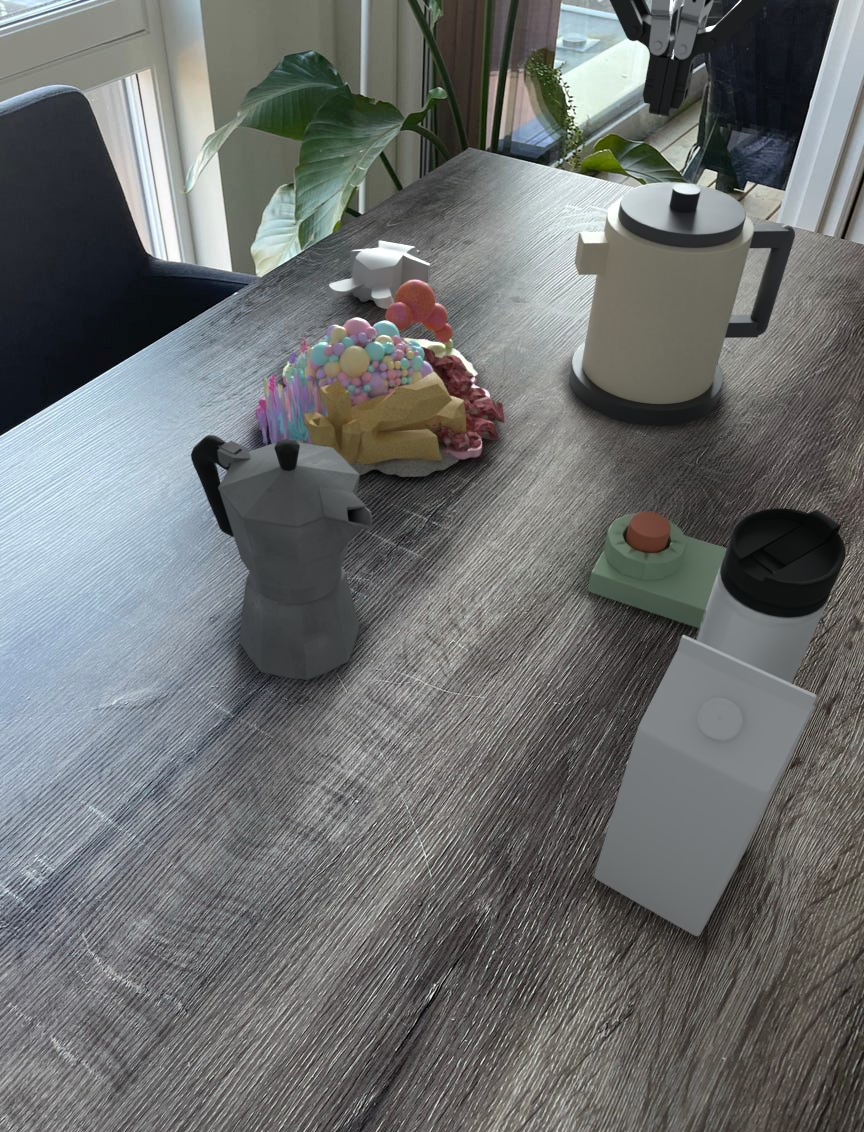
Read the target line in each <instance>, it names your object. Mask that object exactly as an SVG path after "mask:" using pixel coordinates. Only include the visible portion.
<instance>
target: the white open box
mask: <svg viewBox="0 0 864 1132" xmlns="http://www.w3.org/2000/svg"><path fill="white" fill-rule="evenodd" d="M419 257H420V250H419V249H418V248H417V247H416V246H413V245H406V244H401V243H395V242H392V241H391V242H390V241H385V240H378V246H377V247H374V248H363V249H362V248H361V249H352V250H350V252H349V271H351V276H350V278H345V279H341V280H338V281H333V282H331V283H329V284H328V286H327V288H326V290H325V293H324V297H325V298H329V299H339V298H342V297H344V296H346V295H348V294H350V293H352V295H353V297H354V298H358V300H359V301H361V302H365V303H366V302H368V301H373V302H374V303H375V305H376V307H379V308H380V309H385V310H387V309H388V308H389V307H390V305H392V304H394V303H395V296H396V293H397V291H398V289H399V288H400V286H401V285H403V284H404V283H406V282H408V281H410V280H420V281H422V282H425V283H427V284H428V285H429V282H430V275H431V274H430V273H431V263H429V262H428V261H427V262H426V261H425V260H422V259H420V258H419Z"/></svg>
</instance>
